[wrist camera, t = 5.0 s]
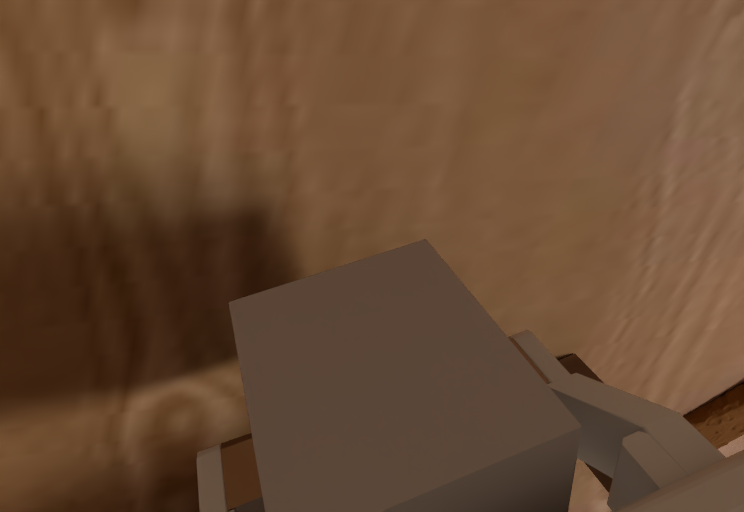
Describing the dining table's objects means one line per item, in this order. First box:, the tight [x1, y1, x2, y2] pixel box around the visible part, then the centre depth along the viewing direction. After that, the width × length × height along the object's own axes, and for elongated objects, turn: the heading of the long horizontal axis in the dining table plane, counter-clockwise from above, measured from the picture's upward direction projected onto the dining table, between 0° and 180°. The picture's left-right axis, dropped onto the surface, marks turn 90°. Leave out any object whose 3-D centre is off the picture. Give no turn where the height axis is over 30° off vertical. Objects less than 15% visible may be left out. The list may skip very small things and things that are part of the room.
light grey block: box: [229, 239, 582, 512], centre depth 11 cm, size 5×5×6 cm
